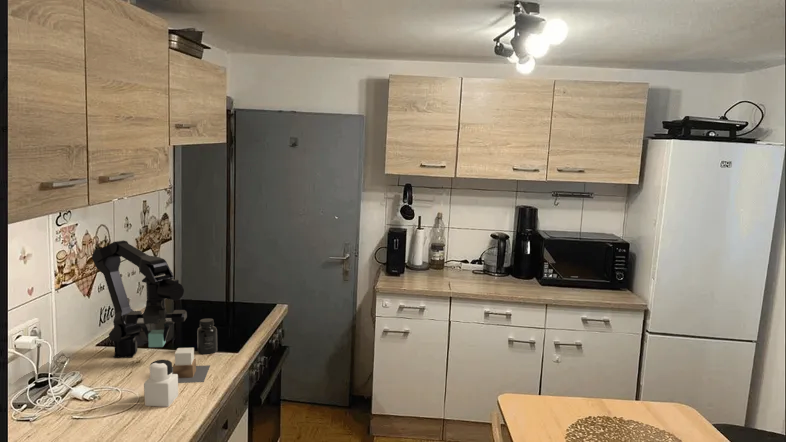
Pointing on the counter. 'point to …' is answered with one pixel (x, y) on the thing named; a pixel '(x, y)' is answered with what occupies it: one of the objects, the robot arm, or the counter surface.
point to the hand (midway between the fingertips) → (157, 341)
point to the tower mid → (184, 356)
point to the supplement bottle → (207, 337)
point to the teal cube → (156, 338)
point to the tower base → (185, 370)
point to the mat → (196, 375)
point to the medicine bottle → (161, 384)
